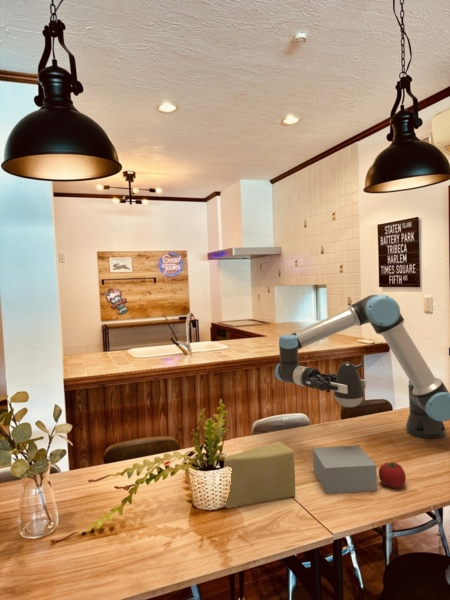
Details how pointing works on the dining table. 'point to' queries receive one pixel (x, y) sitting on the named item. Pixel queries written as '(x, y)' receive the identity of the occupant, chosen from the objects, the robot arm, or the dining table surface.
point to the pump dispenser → (349, 385)
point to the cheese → (261, 475)
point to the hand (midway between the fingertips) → (356, 386)
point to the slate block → (344, 469)
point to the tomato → (392, 475)
